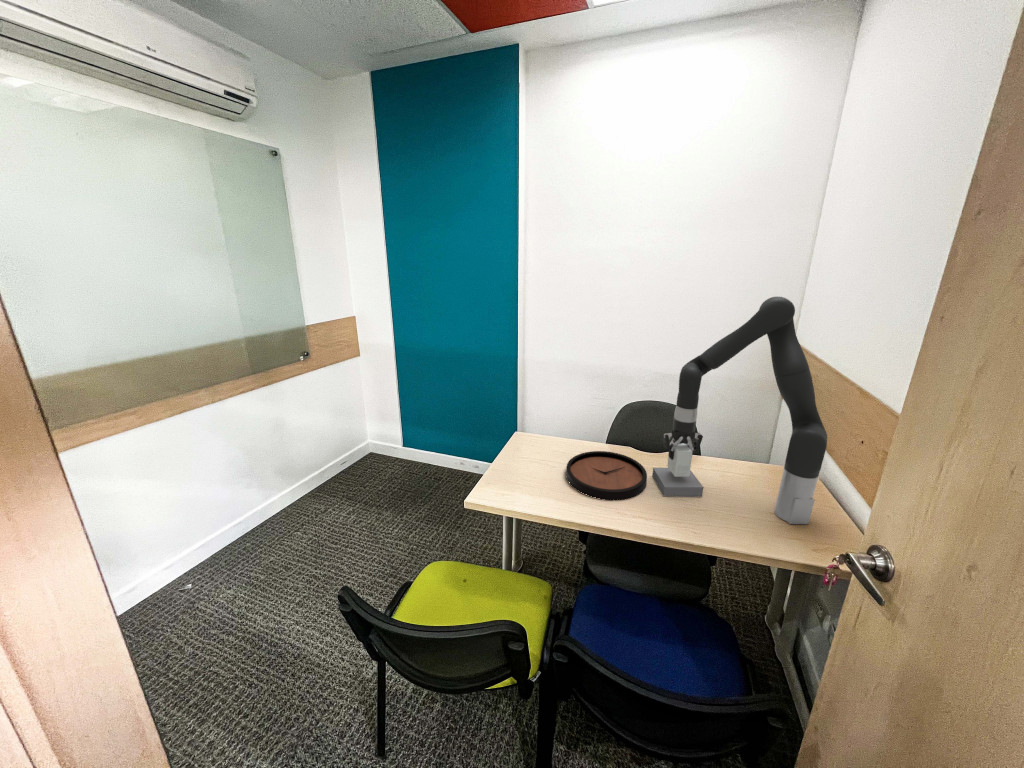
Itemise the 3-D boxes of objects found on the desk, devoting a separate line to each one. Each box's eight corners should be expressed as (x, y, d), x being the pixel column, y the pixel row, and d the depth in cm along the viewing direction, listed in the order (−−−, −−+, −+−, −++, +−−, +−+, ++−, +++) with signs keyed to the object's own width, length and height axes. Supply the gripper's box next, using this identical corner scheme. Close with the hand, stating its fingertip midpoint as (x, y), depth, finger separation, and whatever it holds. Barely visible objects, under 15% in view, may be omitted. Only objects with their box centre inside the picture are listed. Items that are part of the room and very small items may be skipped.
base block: (702, 496, 146) (703, 487, 145) (663, 496, 147) (664, 487, 146) (687, 476, 160) (688, 467, 159) (652, 476, 160) (653, 467, 159)
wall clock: (567, 489, 146) (565, 449, 175) (567, 499, 147) (565, 457, 176) (655, 493, 142) (638, 452, 172) (654, 503, 144) (637, 460, 173)
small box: (689, 477, 148) (693, 451, 144) (674, 477, 148) (677, 451, 144) (681, 466, 155) (684, 441, 152) (666, 466, 155) (669, 441, 152)
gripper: (668, 421, 141) (663, 463, 146) (709, 421, 141) (703, 463, 146) (661, 413, 148) (657, 454, 154) (701, 413, 148) (695, 454, 153)
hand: (679, 458), depth 150 cm, fingers closed on small box, 5 cm apart
